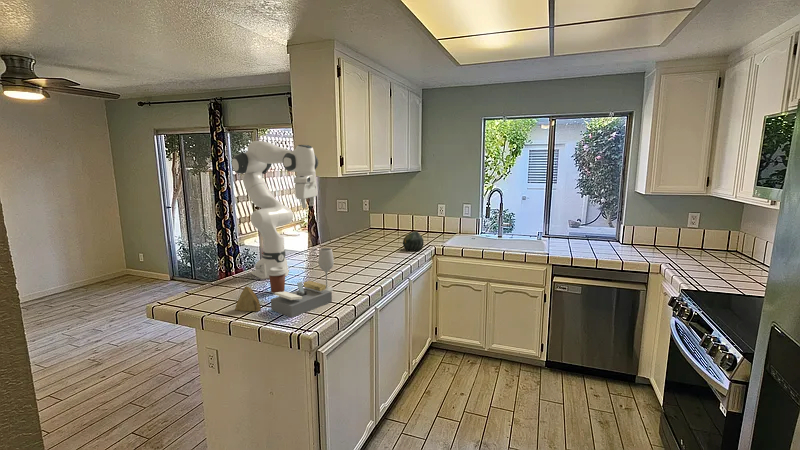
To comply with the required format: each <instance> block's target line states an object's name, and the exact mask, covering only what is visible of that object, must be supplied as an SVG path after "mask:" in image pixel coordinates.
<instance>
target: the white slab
mask: <svg viewBox="0 0 800 450" xmlns="http://www.w3.org/2000/svg"><path fill="white" fill-rule="evenodd" d="M274 296H277V297H279V296H280V297H283V298H287V299H290V300H296V299H302V296H299V295H296V294H292V293H291V292H288V291H285V292H275V294H274Z"/></svg>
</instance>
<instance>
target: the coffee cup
mask: <svg viewBox="0 0 800 450" xmlns="http://www.w3.org/2000/svg"><path fill="white" fill-rule="evenodd" d="M285 274H286V270H284V268H283V267H273V268H270V271H269V272H268V275H269V278H268V279H269V286H270V292H271V294H274V295H275V292H286V291H285V288H286V286H285V285H286V276H285Z"/></svg>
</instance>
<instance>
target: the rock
mask: <svg viewBox="0 0 800 450" xmlns="http://www.w3.org/2000/svg"><path fill="white" fill-rule="evenodd" d="M261 307H262V306H261V303H260V300H259V298H258V296H257V294H256V293H255V292H254V291H253V289H252V288H251V287H249V286H245V287H244V288H243V289H242V291H241V293H240V295H239V298H238V299H237V301H236V305H235V308H234V310H235V311H240V312H259V311H261V310H262V308H261Z"/></svg>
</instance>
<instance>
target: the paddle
mask: <svg viewBox="0 0 800 450" xmlns="http://www.w3.org/2000/svg"><path fill="white" fill-rule="evenodd" d="M296 284H297V289H298V290H299V292H300V293H301V295H304V294H305V292H304V290H303V288H304V285H303V282H302V281H299V282H297V283H296Z"/></svg>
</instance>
